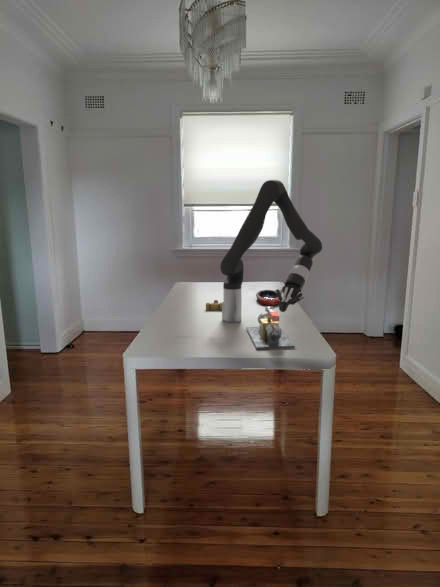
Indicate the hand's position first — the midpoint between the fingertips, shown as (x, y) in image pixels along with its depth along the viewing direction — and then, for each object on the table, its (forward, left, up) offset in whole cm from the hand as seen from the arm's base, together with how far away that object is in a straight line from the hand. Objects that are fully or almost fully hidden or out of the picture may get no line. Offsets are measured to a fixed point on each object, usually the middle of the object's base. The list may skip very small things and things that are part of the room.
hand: (281, 311), depth 156 cm
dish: (-47, +64, -16) cm, 81 cm away
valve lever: (-5, 0, -3) cm, 5 cm away
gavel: (-65, +33, -16) cm, 75 cm away
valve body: (-9, +5, -15) cm, 18 cm away
